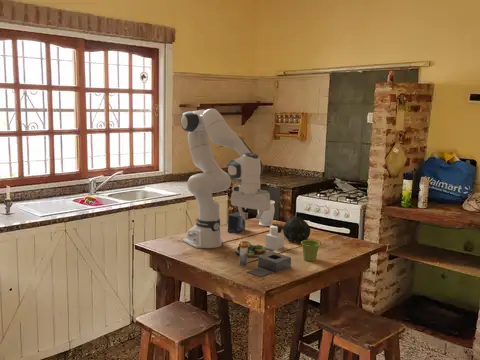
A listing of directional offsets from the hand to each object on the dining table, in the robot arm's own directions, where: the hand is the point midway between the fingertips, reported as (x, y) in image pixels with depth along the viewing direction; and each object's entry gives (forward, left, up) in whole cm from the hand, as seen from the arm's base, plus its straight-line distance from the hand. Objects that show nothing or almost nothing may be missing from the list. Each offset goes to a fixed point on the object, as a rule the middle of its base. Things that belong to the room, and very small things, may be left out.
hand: (250, 217), depth 224 cm
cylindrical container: (-1, -2, -23) cm, 23 cm away
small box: (-43, +37, -23) cm, 61 cm away
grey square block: (+11, +6, -23) cm, 26 cm away
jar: (-41, +61, -23) cm, 77 cm away
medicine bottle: (-8, +30, -23) cm, 39 cm away
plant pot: (+16, +28, -23) cm, 39 cm away
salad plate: (-11, +15, -24) cm, 30 cm away
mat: (+11, -4, -23) cm, 26 cm away
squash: (-8, +49, -23) cm, 55 cm away
